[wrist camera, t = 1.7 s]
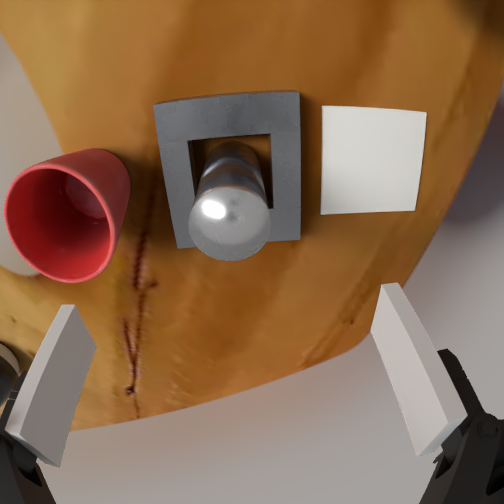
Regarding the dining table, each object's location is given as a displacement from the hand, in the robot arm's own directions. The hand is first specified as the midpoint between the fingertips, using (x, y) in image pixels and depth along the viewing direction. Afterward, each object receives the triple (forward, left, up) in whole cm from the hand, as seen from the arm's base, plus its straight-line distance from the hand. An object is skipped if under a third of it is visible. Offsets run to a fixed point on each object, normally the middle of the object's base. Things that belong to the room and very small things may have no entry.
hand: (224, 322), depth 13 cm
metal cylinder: (0, 0, -20) cm, 20 cm away
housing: (0, 0, -20) cm, 20 cm away
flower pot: (0, -14, -20) cm, 24 cm away
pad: (0, +14, -20) cm, 24 cm away
